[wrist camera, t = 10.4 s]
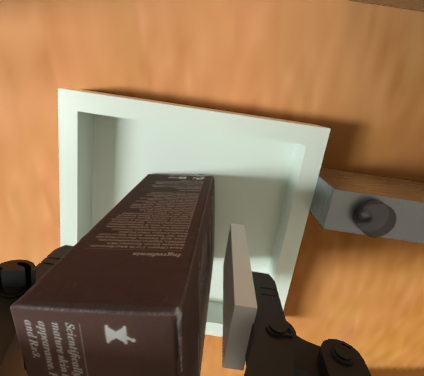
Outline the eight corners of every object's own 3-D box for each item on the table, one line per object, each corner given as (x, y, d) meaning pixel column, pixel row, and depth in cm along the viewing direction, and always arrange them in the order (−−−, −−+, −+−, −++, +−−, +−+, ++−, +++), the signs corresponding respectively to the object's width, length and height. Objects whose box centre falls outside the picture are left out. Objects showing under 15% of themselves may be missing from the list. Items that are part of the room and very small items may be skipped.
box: (142, 172, 18) (-3, 303, 7) (215, 173, 18) (198, 310, 6) (148, 259, 20) (42, 481, 8) (214, 261, 20) (200, 490, 8)
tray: (80, 288, 21) (61, 313, 19) (81, 89, 17) (57, 88, 15) (268, 315, 22) (274, 344, 19) (315, 124, 17) (330, 128, 15)
